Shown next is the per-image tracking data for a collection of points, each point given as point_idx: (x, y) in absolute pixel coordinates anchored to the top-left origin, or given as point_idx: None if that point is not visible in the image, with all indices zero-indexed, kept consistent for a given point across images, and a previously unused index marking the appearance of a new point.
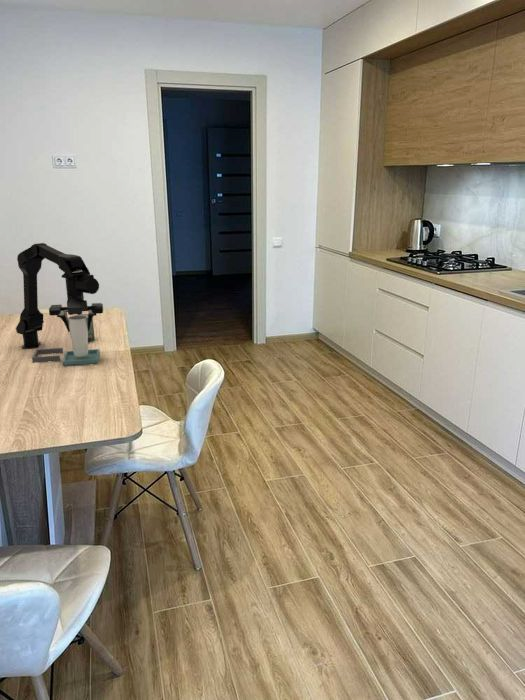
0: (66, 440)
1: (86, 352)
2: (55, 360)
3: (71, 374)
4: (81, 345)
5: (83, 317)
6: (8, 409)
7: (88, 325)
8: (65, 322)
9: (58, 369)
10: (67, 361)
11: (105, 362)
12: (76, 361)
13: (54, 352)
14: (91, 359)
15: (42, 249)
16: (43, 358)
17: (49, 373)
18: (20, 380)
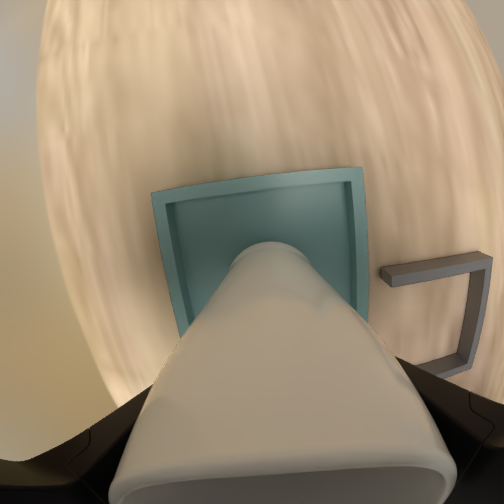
0: None
1: (229, 268)
2: (402, 265)
3: (275, 44)
4: (249, 259)
5: None
6: None
7: (131, 412)
8: (476, 408)
9: (363, 126)
10: (333, 169)
11: (132, 218)
12: (279, 173)
13: None
14: (187, 186)
15: None
16: (454, 261)
17: (387, 78)
18: (458, 39)
